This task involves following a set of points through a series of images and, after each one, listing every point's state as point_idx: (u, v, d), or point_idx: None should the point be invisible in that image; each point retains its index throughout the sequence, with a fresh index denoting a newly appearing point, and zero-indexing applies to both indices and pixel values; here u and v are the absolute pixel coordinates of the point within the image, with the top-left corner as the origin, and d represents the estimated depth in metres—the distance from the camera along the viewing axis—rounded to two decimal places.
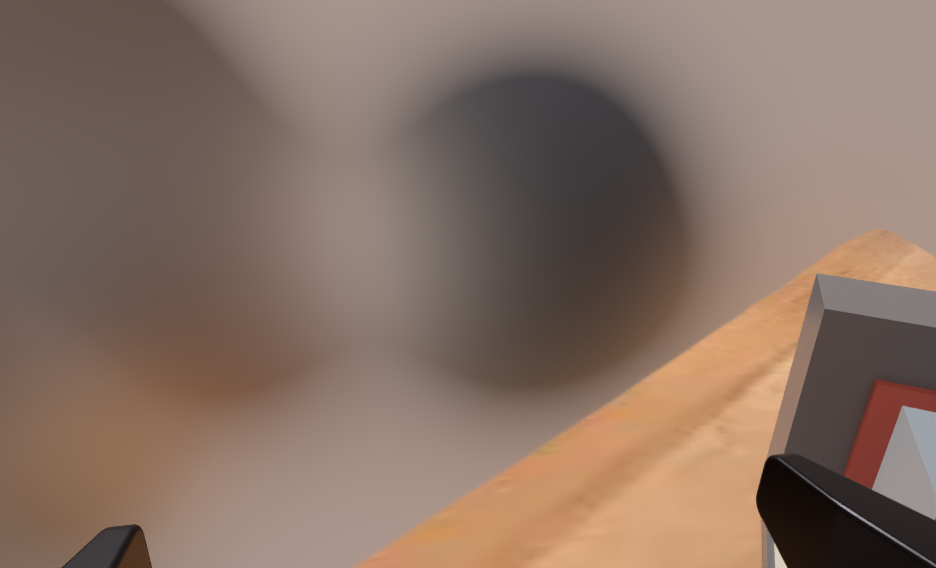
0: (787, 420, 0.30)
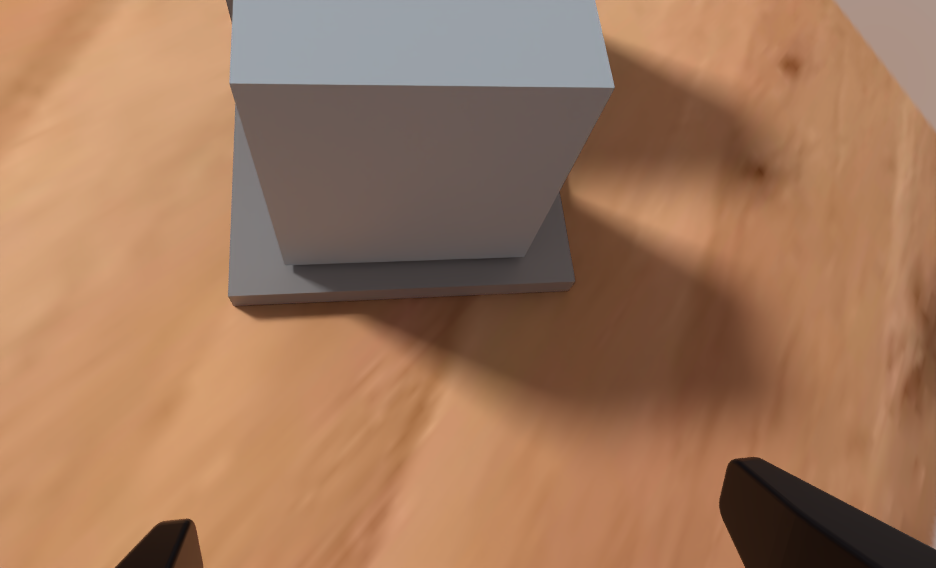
0: None
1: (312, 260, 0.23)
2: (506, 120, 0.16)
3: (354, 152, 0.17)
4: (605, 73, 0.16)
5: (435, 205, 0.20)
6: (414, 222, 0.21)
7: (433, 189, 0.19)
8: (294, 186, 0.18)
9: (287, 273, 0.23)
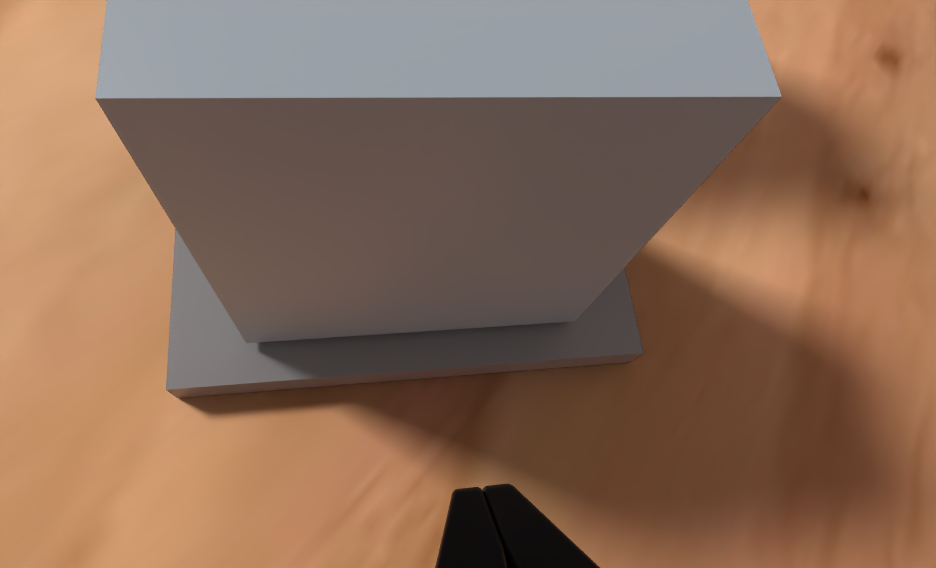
0: None
1: (284, 336, 0.17)
2: (587, 152, 0.10)
3: (336, 205, 0.10)
4: (763, 72, 0.09)
5: (460, 269, 0.14)
6: (428, 289, 0.15)
7: (459, 250, 0.13)
8: (244, 252, 0.12)
9: (250, 353, 0.17)
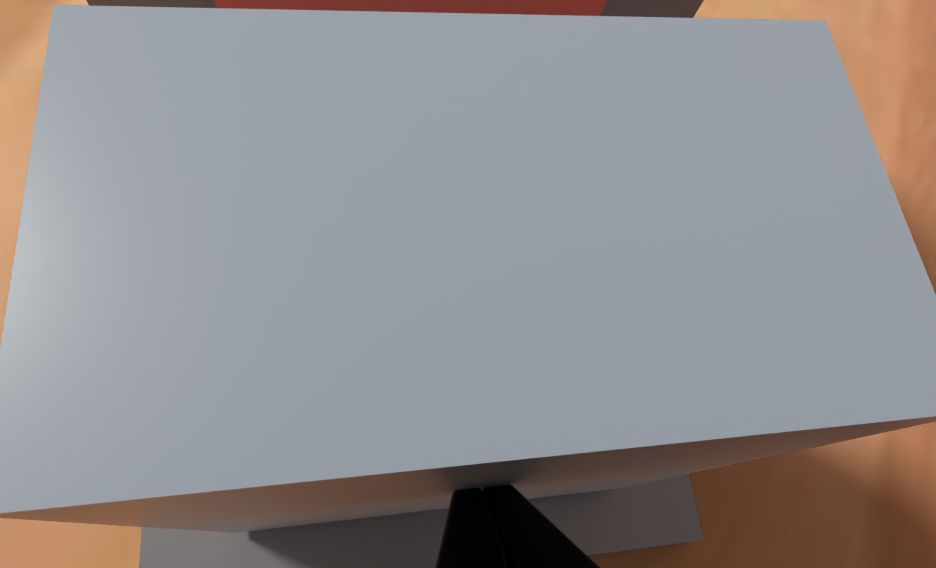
0: None
1: (279, 527, 0.14)
2: (692, 453, 0.07)
3: (345, 499, 0.08)
4: None
5: None
6: None
7: None
8: (225, 520, 0.09)
9: (238, 561, 0.14)
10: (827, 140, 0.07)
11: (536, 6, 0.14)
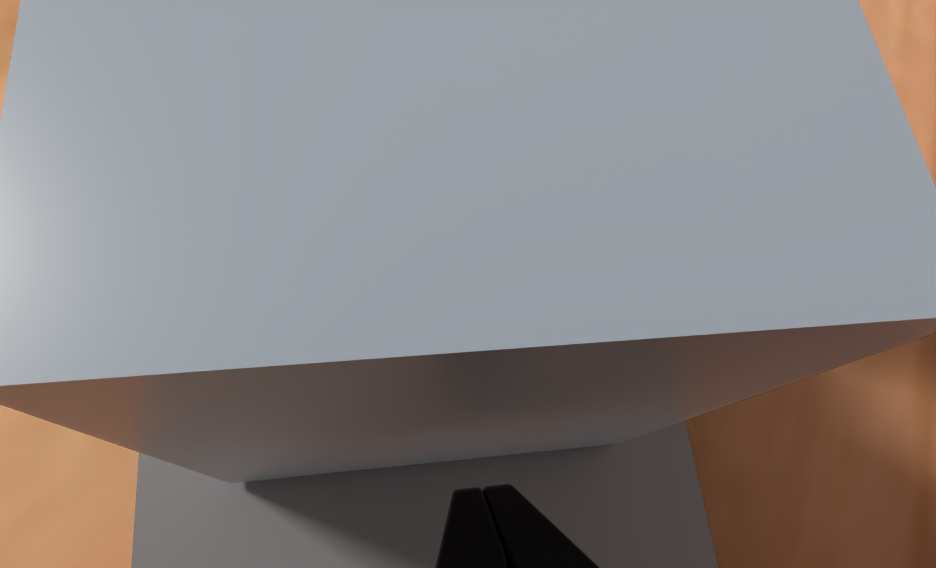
0: None
1: (275, 477, 0.14)
2: (691, 366, 0.07)
3: (340, 418, 0.08)
4: None
5: (494, 433, 0.11)
6: (452, 445, 0.12)
7: (497, 425, 0.10)
8: (218, 448, 0.09)
9: None
10: (832, 49, 0.07)
11: None
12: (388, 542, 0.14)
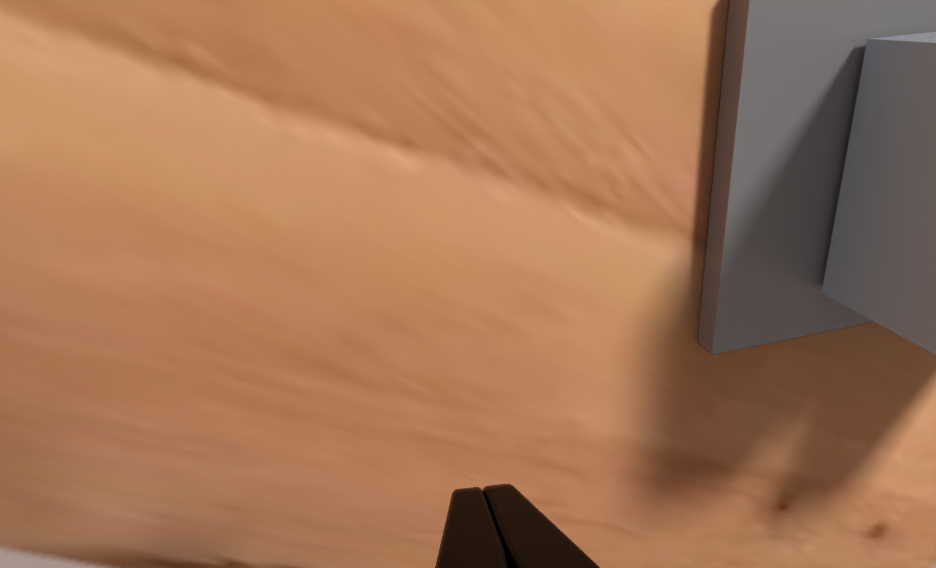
0: None
1: (869, 72, 0.20)
2: None
3: None
4: None
5: None
6: (921, 202, 0.19)
7: None
8: None
9: (766, 49, 0.20)
10: None
11: None
12: (801, 147, 0.22)
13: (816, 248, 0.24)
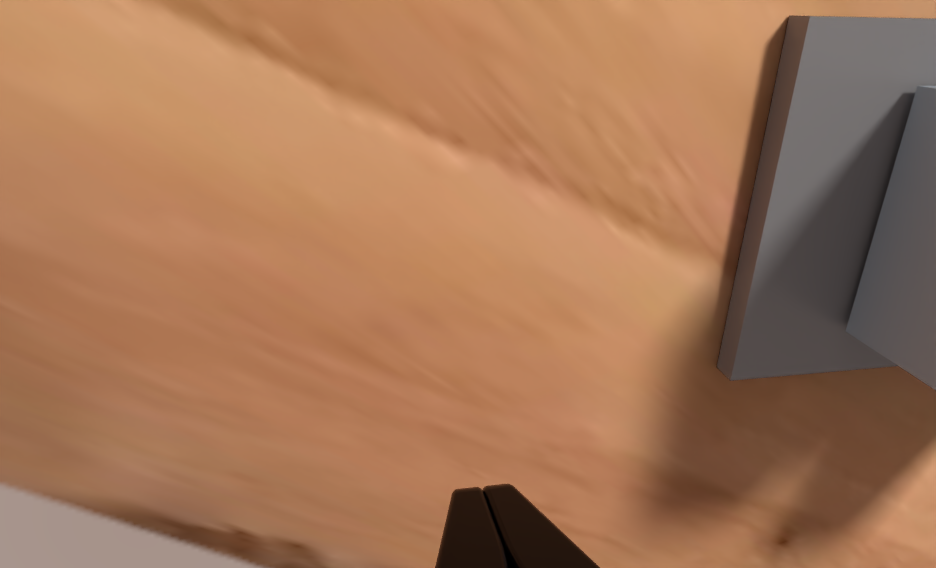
0: None
1: (916, 118, 0.21)
2: None
3: None
4: None
5: None
6: None
7: None
8: None
9: (817, 86, 0.20)
10: None
11: None
12: (841, 185, 0.22)
13: (845, 286, 0.24)
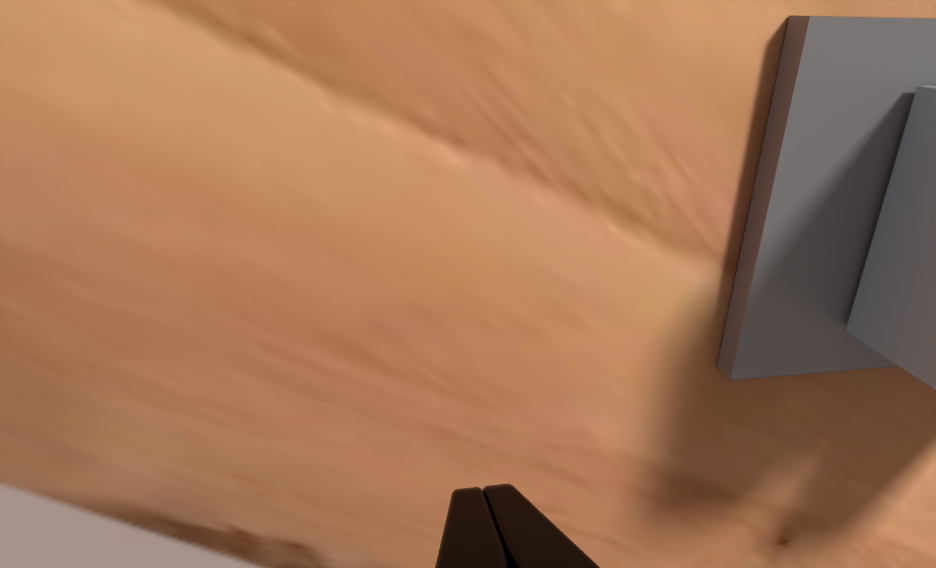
0: None
1: (916, 118, 0.21)
2: None
3: None
4: None
5: None
6: None
7: None
8: None
9: (817, 86, 0.20)
10: None
11: None
12: (841, 185, 0.22)
13: (845, 286, 0.24)
